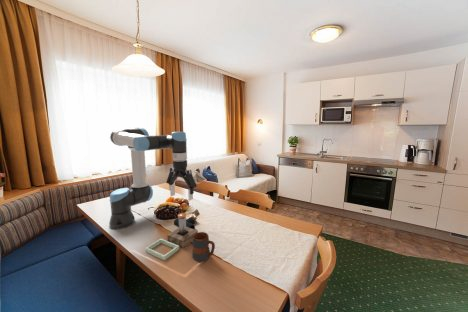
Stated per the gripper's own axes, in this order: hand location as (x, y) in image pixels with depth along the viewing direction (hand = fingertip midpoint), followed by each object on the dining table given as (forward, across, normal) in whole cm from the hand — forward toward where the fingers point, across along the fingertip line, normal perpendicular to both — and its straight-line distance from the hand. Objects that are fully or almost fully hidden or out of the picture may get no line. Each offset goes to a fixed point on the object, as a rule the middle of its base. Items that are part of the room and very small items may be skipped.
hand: (181, 197), depth 109 cm
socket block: (+26, 0, 0) cm, 26 cm away
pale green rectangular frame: (+26, -2, -13) cm, 29 cm away
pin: (+25, 0, 0) cm, 25 cm away
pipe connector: (+27, -9, +14) cm, 32 cm away
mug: (+26, +20, -6) cm, 34 cm away
